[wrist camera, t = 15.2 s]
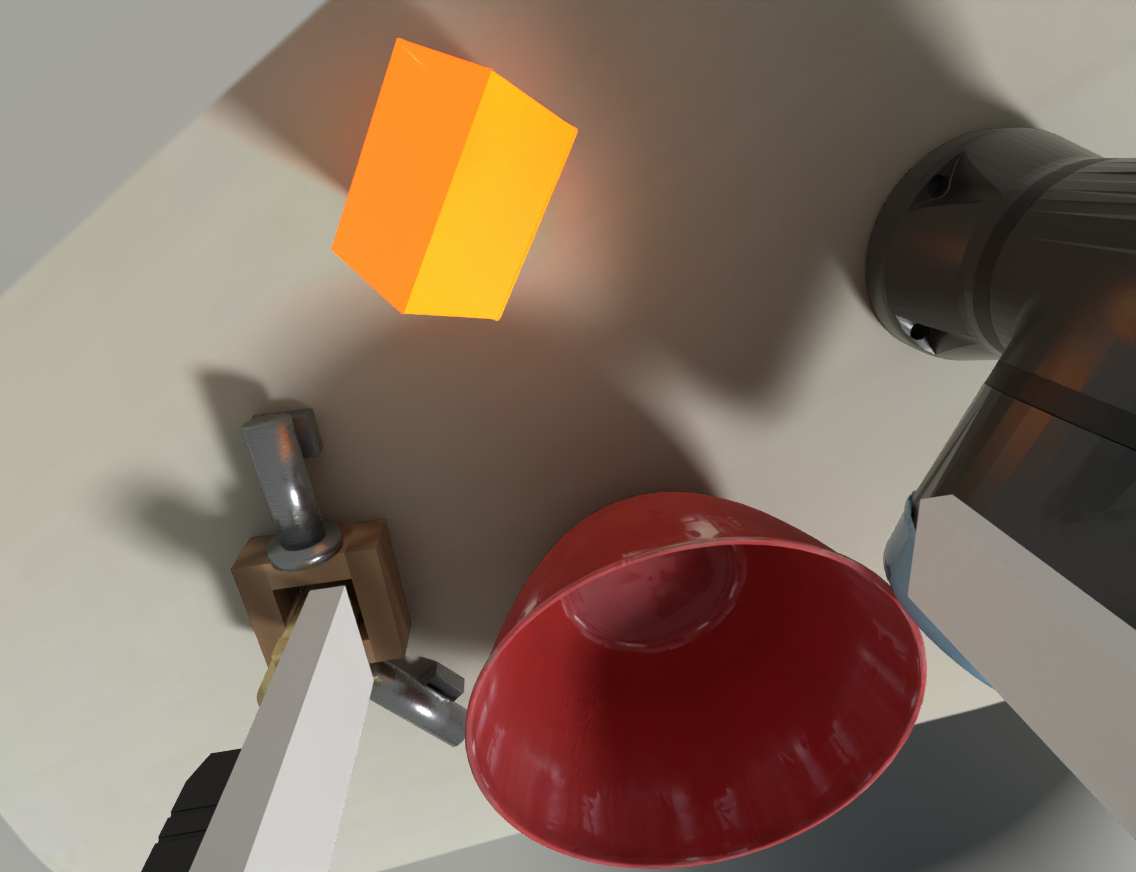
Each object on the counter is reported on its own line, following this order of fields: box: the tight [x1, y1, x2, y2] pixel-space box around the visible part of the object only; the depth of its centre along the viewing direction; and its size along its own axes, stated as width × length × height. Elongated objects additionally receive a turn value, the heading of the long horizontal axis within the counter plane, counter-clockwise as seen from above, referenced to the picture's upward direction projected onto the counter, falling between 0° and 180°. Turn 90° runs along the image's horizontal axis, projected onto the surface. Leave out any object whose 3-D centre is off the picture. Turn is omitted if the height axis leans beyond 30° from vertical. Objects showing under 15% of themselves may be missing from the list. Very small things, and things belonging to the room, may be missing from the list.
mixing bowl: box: [465, 492, 927, 869], centre depth 46 cm, size 28×28×16 cm
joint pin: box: [257, 579, 360, 707], centre depth 45 cm, size 4×6×12 cm
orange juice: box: [331, 38, 578, 321], centre depth 31 cm, size 8×9×20 cm
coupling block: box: [231, 519, 411, 667], centre depth 49 cm, size 10×10×4 cm
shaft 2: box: [366, 655, 467, 747], centre depth 52 cm, size 12×5×6 cm, turn 46°
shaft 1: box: [242, 409, 344, 572], centre depth 44 cm, size 10×5×6 cm, turn 6°
